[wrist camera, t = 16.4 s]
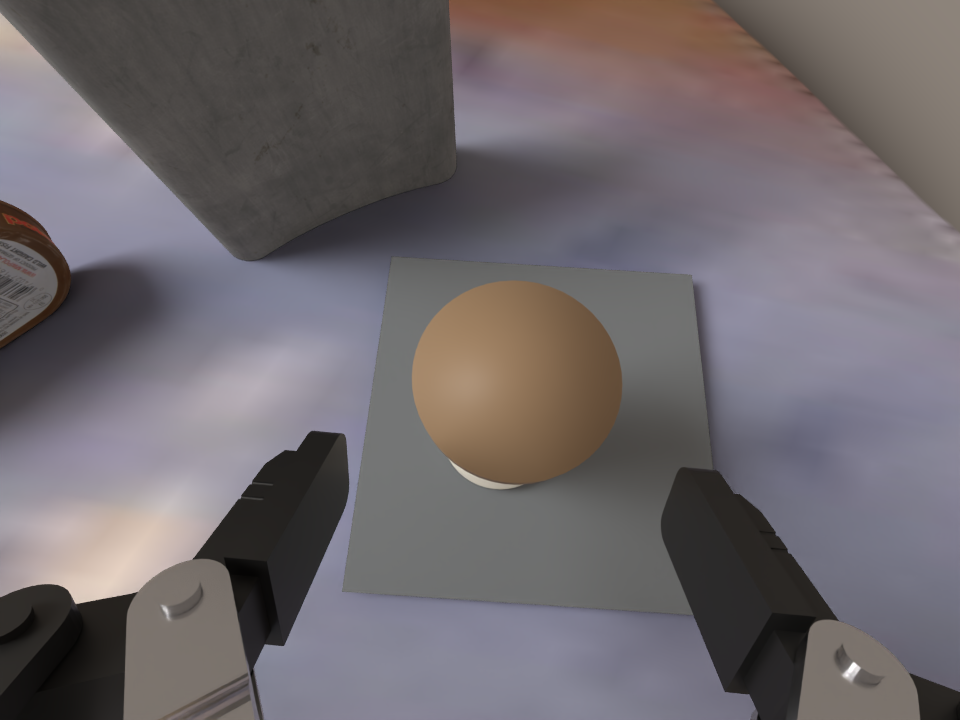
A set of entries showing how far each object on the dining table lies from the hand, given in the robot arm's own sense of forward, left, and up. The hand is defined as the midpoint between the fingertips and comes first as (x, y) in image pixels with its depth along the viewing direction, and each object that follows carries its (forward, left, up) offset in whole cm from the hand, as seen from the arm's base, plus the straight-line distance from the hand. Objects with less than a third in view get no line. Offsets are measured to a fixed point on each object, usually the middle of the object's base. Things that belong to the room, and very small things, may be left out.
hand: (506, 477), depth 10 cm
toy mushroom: (0, +3, -12) cm, 12 cm away
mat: (+2, +4, -13) cm, 14 cm away
